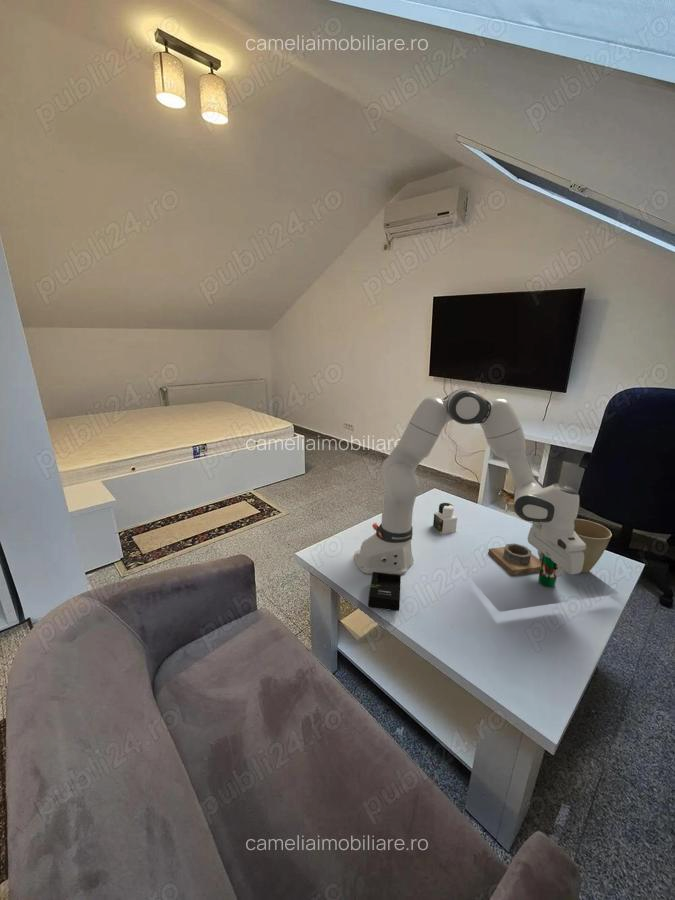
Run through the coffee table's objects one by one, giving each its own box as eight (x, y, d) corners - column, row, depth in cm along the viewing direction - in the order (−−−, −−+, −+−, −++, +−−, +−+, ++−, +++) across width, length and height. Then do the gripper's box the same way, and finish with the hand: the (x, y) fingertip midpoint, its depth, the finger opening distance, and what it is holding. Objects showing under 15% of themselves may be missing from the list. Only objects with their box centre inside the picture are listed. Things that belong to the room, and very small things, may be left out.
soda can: (555, 581, 123) (561, 550, 120) (554, 589, 119) (561, 558, 116) (538, 576, 126) (544, 546, 122) (537, 584, 122) (543, 553, 118)
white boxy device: (432, 527, 159) (434, 502, 156) (446, 524, 161) (448, 500, 158) (441, 534, 153) (444, 509, 149) (456, 532, 155) (458, 507, 151)
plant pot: (601, 563, 134) (610, 525, 129) (602, 585, 122) (613, 543, 117) (555, 551, 141) (562, 514, 137) (552, 570, 130) (560, 530, 125)
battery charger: (399, 611, 110) (399, 600, 109) (368, 607, 112) (368, 596, 110) (400, 584, 122) (401, 574, 121) (372, 581, 124) (372, 571, 123)
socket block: (511, 575, 127) (513, 563, 125) (488, 553, 140) (489, 541, 138) (546, 570, 129) (548, 558, 128) (520, 549, 142) (522, 538, 141)
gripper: (526, 518, 126) (520, 552, 130) (573, 550, 107) (564, 589, 111) (541, 517, 127) (535, 551, 131) (591, 548, 108) (581, 587, 112)
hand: (549, 568), depth 121 cm, fingers closed on soda can, 5 cm apart
